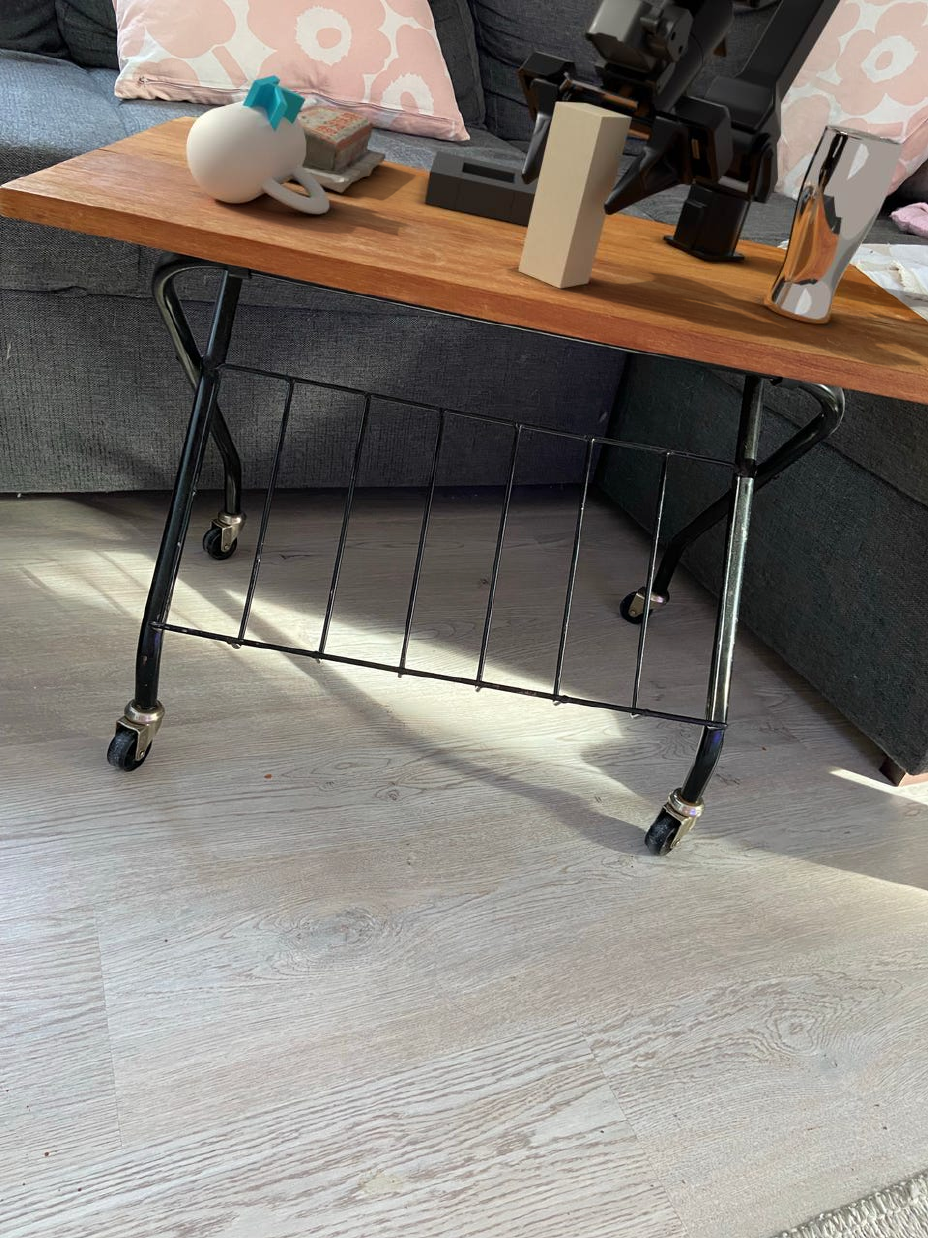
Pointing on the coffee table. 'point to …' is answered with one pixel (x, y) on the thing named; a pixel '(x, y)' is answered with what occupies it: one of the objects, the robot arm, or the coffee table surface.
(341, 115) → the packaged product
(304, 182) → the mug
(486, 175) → the pad base
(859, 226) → the beer glass
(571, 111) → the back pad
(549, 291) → the coffee table surface
